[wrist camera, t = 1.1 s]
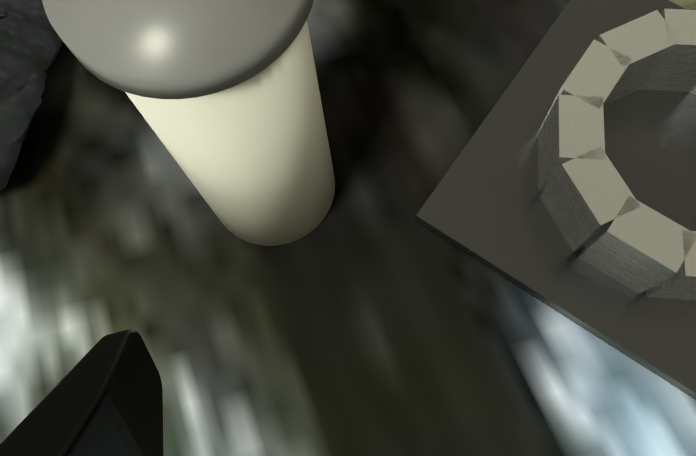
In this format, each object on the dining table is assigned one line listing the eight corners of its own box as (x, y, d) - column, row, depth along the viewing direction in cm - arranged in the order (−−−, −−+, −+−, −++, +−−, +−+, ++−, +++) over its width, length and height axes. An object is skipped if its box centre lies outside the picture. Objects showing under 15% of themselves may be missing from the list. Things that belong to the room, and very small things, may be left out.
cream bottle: (286, 284, 24) (191, 129, 12) (172, 204, 25) (-17, -9, 13) (373, 168, 25) (366, -75, 13) (261, 98, 26) (162, -181, 14)
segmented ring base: (761, 441, 21) (835, 442, 17) (415, 220, 24) (420, 184, 21) (912, 133, 24) (999, 83, 21) (590, -25, 27) (620, -91, 24)
